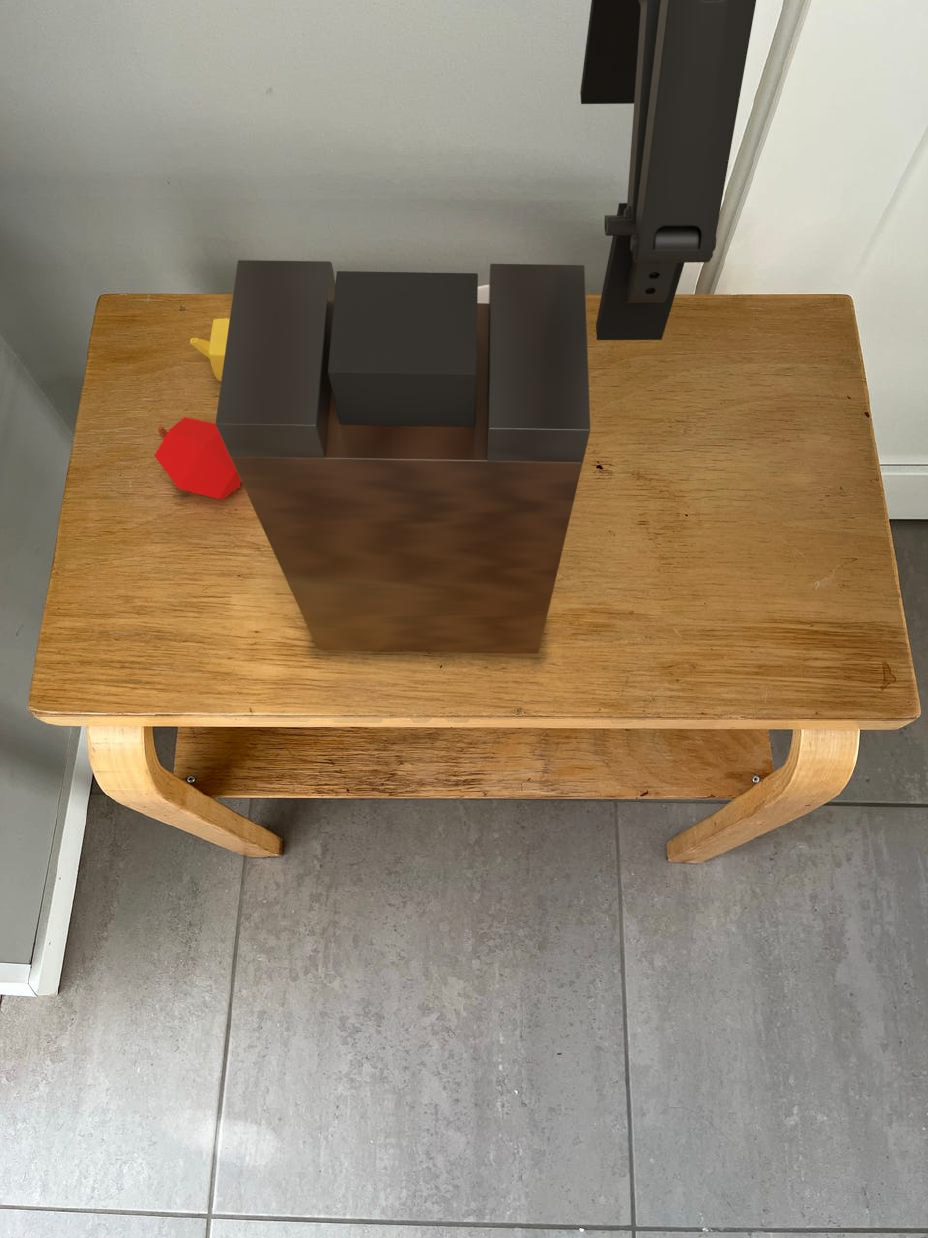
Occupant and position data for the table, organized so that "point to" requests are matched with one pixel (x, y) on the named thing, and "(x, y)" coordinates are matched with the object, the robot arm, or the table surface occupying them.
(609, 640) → the table surface
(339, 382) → the pad
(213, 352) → the teapot
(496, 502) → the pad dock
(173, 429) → the apple
